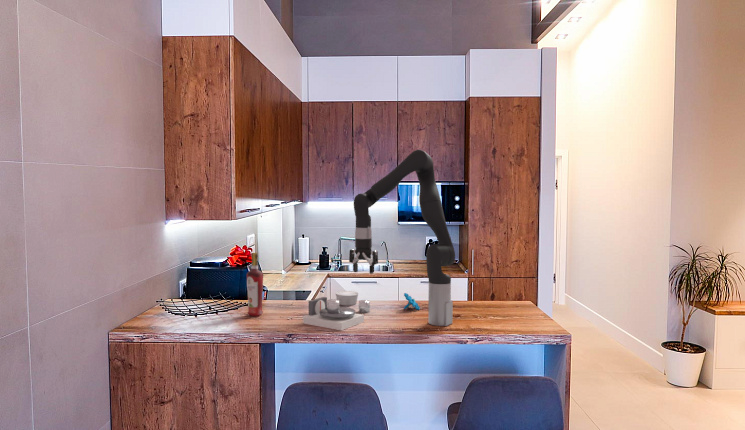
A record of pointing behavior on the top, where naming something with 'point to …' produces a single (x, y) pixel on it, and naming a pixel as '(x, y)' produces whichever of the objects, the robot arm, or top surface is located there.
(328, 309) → the block
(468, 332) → the top surface
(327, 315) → the pan
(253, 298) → the liquor
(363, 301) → the spacer
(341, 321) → the scale
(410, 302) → the blue plastic branched piece
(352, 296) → the ramekin
